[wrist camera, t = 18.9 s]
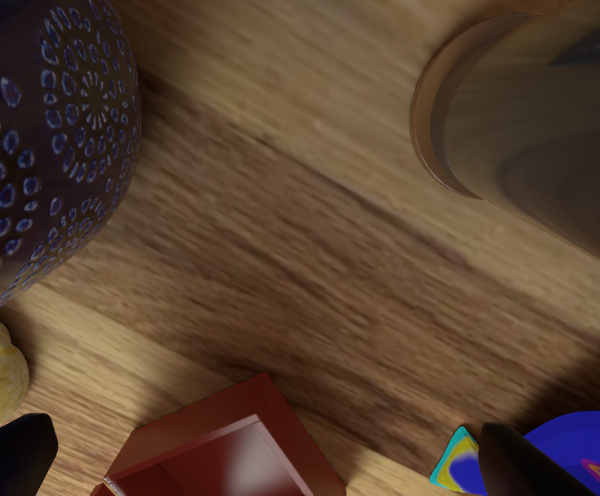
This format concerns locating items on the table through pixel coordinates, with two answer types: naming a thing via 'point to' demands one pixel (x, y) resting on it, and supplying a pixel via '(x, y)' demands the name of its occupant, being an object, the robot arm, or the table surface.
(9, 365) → the bread roll
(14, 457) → the robot arm
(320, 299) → the table surface
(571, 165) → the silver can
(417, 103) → the round brown coaster
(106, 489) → the red box lid
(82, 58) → the planter
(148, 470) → the open red box
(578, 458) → the decorative fish
